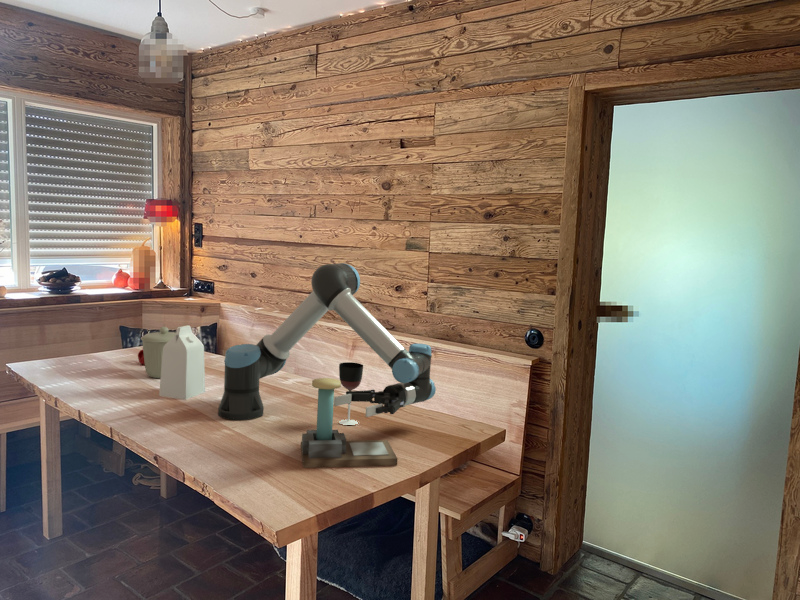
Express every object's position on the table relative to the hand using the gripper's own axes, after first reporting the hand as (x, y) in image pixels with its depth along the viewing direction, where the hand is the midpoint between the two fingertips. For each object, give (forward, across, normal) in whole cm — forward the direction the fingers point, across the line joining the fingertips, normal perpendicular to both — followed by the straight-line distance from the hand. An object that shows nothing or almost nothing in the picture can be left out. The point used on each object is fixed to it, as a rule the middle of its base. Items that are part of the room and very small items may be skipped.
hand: (350, 406), depth 172 cm
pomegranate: (-4, +138, -13) cm, 139 cm away
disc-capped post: (+10, 0, -11) cm, 15 cm away
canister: (+1, +114, -13) cm, 115 cm away
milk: (+8, +83, -13) cm, 85 cm away
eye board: (+4, -4, -13) cm, 14 cm away
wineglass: (-18, +19, -13) cm, 29 cm away
